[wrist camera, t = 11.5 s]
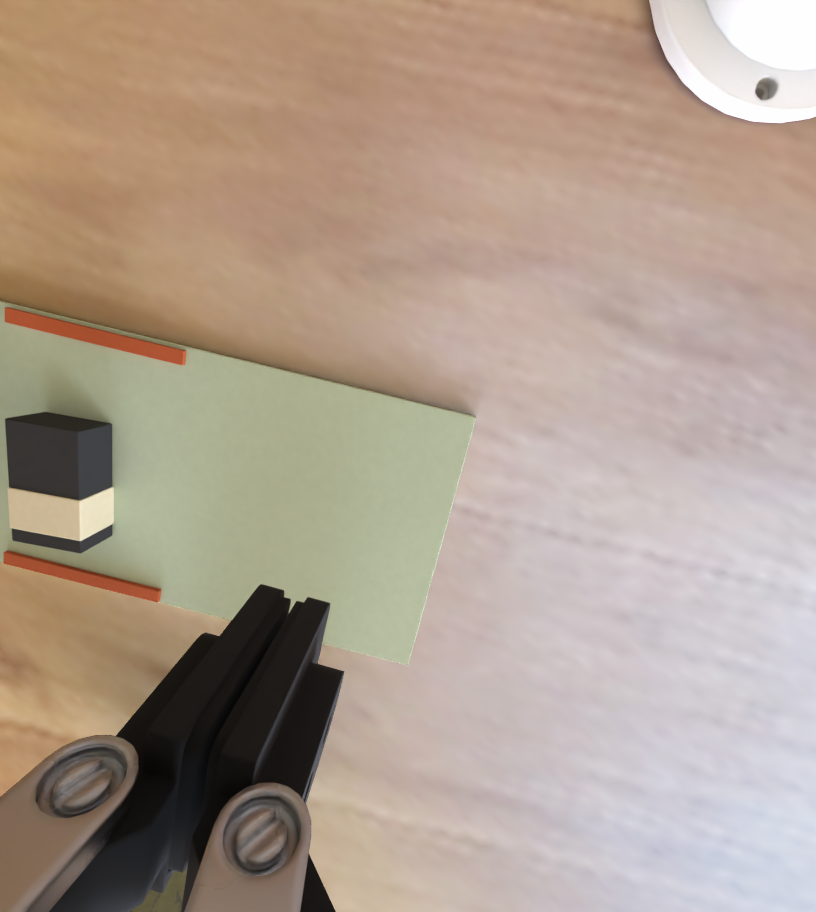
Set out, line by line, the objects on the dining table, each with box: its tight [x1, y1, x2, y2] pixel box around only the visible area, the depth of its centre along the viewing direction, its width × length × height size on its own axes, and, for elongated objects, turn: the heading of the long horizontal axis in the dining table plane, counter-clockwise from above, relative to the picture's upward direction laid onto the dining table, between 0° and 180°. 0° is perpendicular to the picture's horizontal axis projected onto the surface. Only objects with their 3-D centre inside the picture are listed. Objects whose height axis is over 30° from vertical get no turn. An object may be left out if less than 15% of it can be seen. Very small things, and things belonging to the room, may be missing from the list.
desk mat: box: [0, 301, 476, 665], centre depth 26 cm, size 16×28×1 cm, turn 77°
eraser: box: [5, 412, 114, 553], centre depth 25 cm, size 7×4×3 cm, turn 171°
